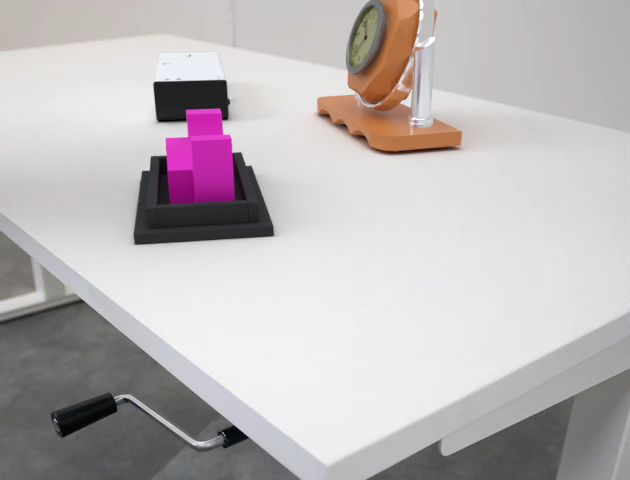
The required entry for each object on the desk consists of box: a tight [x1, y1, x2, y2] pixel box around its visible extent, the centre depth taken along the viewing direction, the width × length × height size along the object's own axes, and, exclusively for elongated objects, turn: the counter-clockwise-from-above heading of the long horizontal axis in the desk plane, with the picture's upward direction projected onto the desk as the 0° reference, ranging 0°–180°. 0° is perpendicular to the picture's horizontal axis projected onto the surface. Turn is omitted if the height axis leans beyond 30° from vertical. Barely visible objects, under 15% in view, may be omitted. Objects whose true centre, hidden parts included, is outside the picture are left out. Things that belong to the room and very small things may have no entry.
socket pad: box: [133, 151, 275, 245], centre depth 80 cm, size 13×22×3 cm, turn 10°
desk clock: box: [316, 0, 463, 153], centre depth 109 cm, size 12×30×20 cm, turn 18°
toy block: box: [165, 109, 235, 204], centre depth 79 cm, size 15×6×8 cm, turn 11°
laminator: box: [152, 51, 235, 121], centre depth 132 cm, size 34×12×6 cm, turn 9°
